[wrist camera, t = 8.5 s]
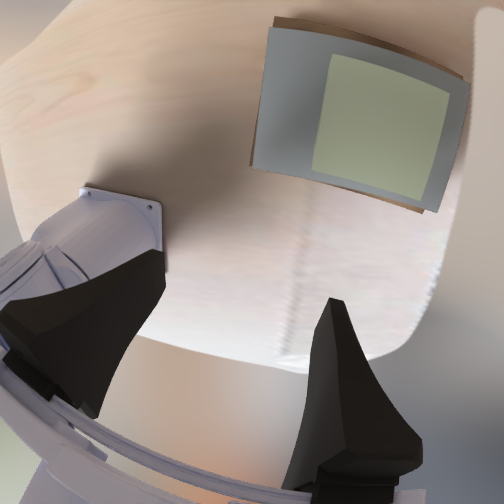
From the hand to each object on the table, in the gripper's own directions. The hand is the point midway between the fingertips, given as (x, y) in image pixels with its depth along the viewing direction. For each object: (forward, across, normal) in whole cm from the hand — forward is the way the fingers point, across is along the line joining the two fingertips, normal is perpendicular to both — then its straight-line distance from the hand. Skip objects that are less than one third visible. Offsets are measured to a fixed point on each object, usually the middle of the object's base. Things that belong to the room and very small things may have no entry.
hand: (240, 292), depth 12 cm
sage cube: (+6, -4, -7) cm, 10 cm away
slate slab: (+9, -4, -7) cm, 12 cm away
